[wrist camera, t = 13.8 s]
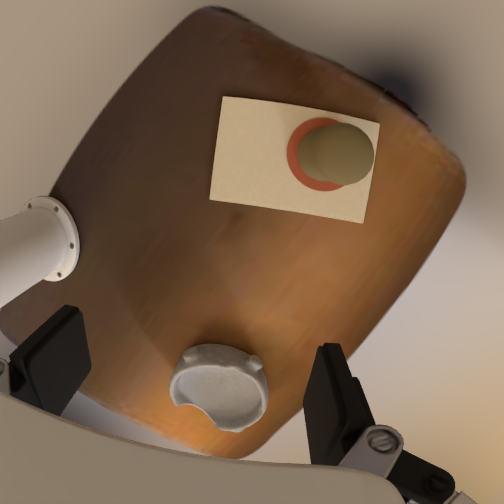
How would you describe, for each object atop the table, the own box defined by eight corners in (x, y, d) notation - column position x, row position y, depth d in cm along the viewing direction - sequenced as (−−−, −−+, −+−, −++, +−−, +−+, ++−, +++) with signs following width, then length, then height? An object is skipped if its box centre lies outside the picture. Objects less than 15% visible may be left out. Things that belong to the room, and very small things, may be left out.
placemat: (209, 199, 35) (209, 199, 35) (223, 96, 31) (222, 95, 31) (362, 222, 35) (363, 223, 34) (379, 123, 31) (380, 123, 31)
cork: (313, 117, 31) (333, 100, 21) (359, 146, 32) (397, 143, 21) (286, 163, 33) (295, 166, 22) (333, 191, 34) (361, 207, 23)
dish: (251, 417, 45) (249, 440, 40) (168, 392, 44) (160, 413, 40) (286, 354, 41) (287, 377, 36) (188, 322, 40) (179, 342, 35)
